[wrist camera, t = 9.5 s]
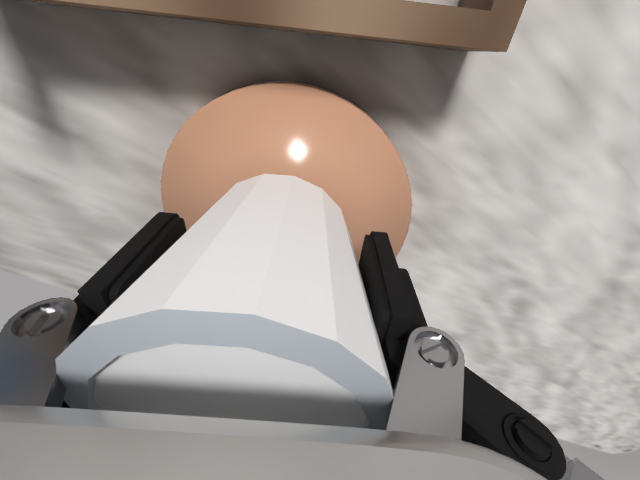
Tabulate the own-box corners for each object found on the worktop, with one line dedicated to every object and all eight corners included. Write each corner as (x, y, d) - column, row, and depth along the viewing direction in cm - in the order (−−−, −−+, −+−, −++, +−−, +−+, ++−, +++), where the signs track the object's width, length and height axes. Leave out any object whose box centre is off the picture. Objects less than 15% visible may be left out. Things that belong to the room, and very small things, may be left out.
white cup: (227, 302, 14) (154, 484, 8) (166, 168, 10) (-55, 331, 4) (367, 291, 13) (397, 481, 7) (359, 143, 9) (408, 297, 4)
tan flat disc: (193, 285, 16) (186, 297, 16) (143, 65, 10) (127, 67, 9) (378, 300, 17) (381, 314, 16) (440, 97, 11) (449, 101, 10)
